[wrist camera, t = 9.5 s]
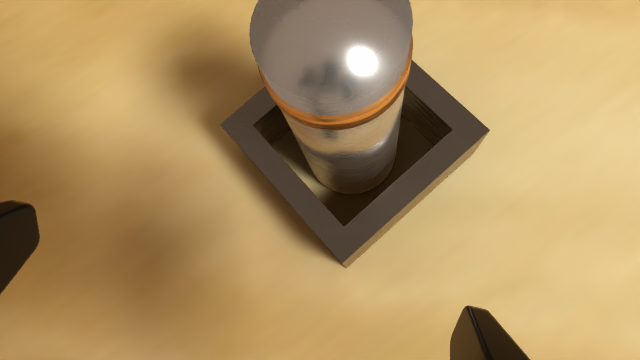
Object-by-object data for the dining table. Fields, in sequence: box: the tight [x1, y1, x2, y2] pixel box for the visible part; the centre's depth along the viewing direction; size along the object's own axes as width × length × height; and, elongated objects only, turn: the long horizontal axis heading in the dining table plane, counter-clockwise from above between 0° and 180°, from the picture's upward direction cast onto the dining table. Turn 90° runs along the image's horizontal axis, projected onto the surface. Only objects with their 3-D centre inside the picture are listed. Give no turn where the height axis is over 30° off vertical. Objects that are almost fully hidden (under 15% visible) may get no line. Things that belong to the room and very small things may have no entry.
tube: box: [250, 0, 413, 194], centre depth 19 cm, size 5×5×12 cm
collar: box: [220, 60, 490, 268], centre depth 23 cm, size 9×9×4 cm
